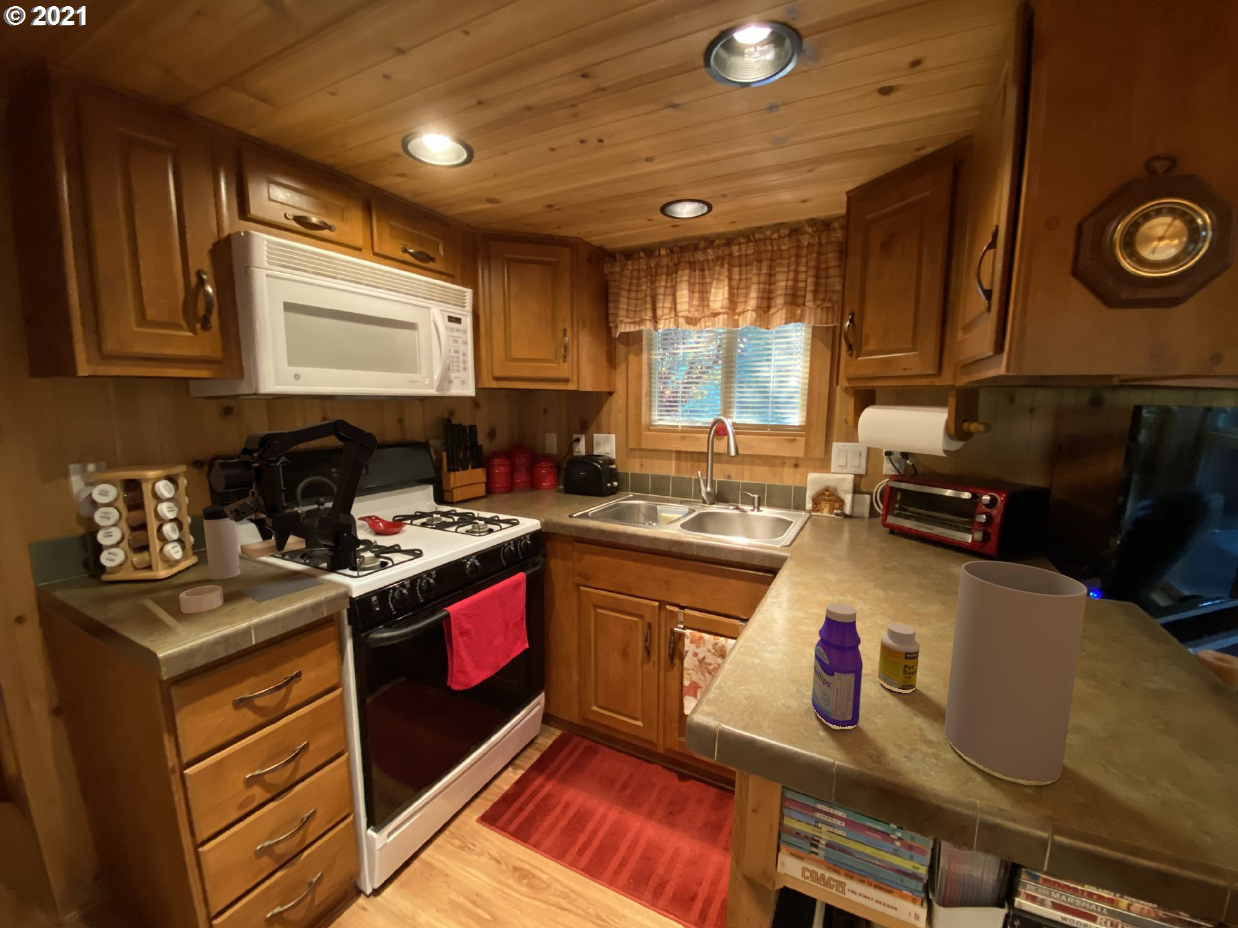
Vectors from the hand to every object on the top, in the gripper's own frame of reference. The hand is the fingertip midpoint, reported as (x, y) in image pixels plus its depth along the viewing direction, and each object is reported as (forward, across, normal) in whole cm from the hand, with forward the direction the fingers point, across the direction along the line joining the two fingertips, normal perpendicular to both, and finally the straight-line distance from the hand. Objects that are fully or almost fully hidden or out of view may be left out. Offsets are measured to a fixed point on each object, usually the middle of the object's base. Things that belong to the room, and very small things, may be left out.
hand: (273, 548), depth 117 cm
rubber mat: (+11, 0, +1) cm, 11 cm away
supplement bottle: (+11, +129, +42) cm, 136 cm away
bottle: (+11, +122, +27) cm, 126 cm away
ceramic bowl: (+11, -2, -14) cm, 18 cm away
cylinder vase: (+11, +142, +32) cm, 146 cm away
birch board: (0, 0, 0) cm, 0 cm away
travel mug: (+11, -21, -4) cm, 24 cm away
